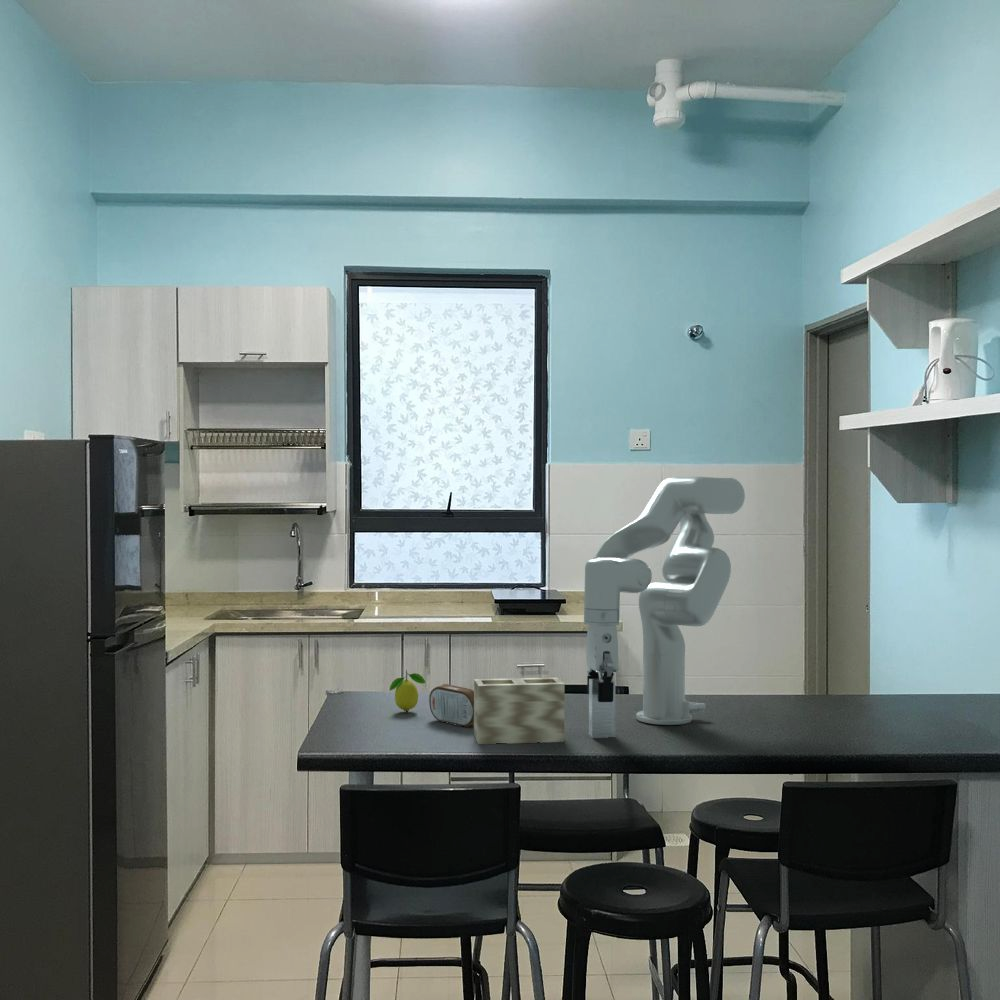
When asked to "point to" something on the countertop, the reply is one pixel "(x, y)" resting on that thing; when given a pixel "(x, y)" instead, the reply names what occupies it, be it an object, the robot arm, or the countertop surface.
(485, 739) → the two-slot cinder block
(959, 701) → the countertop surface
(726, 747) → the countertop surface
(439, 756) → the countertop surface
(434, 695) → the tin
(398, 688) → the lemon
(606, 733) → the grey slab
